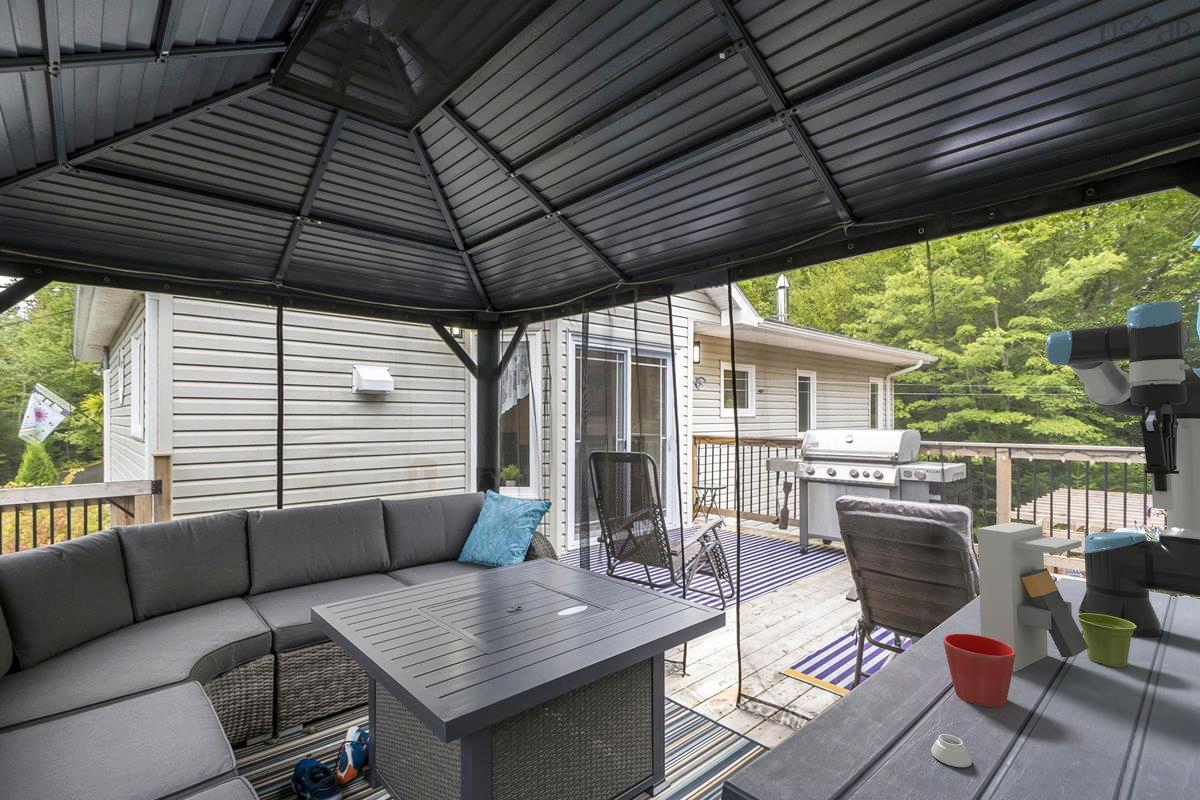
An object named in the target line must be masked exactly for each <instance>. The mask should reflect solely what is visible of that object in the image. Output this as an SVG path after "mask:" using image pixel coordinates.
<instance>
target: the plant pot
mask: <svg viewBox="0 0 1200 800" xmlns="http://www.w3.org/2000/svg"><path fill="white" fill-rule="evenodd" d="M1076 619H1077V620H1078V621H1079V624H1080V626H1081V629H1082V635H1083V638H1084V640H1085V642H1086V644H1087V645H1088V647H1089V648H1088V649H1086V652H1087V653H1086V654H1087V658H1088V660H1090V661H1092V662H1094V663H1097V664H1102V665H1105V666H1106V667H1111V668H1125V667H1126V666H1128V660H1129V655H1130V654H1129V653H1130V646H1131V639H1132V637H1133V636H1132V635H1133V631H1134V630H1135V629H1136V625H1135V624H1134V623H1132V622H1130V621H1127V620H1124V619H1121V618H1117V617H1113V616H1107V615H1101V614H1091V613H1083V614H1079V613H1077V615H1076Z"/></svg>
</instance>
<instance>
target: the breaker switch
mask: <svg viewBox="0 0 1200 800" xmlns="http://www.w3.org/2000/svg"><path fill="white" fill-rule="evenodd" d="M1020 576H1021V578H1022V580H1023V582H1024V584H1025V586H1026V588H1027V590H1028V592H1029V594H1030V596H1031V597H1032V599H1033V601H1034V603H1035V605H1036V607H1037V608H1040V609H1044V610H1049V611H1051V624H1052V629H1050V630H1047V632H1048V633H1049V634H1050V637H1051V639H1052V640H1053V643H1054V645H1055V646H1056V649H1057V650H1058V653H1059V654H1060V656H1061V658H1062V659H1063V658H1073V657H1075V656H1077V655H1079V654H1080V653H1083V652H1084V651H1087V649H1088V648H1089V647H1088V645H1087V644H1086V642H1085V639H1084V635H1083V633H1082V632H1081V630H1080V628H1079V627H1078V624H1077V623H1076V621H1075V619H1074V618H1073V617H1074V616H1073V614H1072V615H1071V613H1070V611H1069V609H1068V608H1067V606H1066V604H1065V602H1064V601H1065V600H1064V599H1063V596H1062V594H1061V593H1060V591H1059V588H1058V586H1057V585H1056V582H1055V580H1054V579H1053V577H1052V575H1051V572H1050V570H1048V567H1044V569H1039V570H1035V571H1032V572H1029V573H1025V574H1022V575H1020Z"/></svg>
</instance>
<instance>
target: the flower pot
mask: <svg viewBox="0 0 1200 800" xmlns="http://www.w3.org/2000/svg"><path fill="white" fill-rule="evenodd" d="M942 641H943V646H944V651H945V656H946V660H947V664H948V668H949V673H950V676H951V680H952V684H953V687H954V692H955V694H956V696H958V697H959V698H960V699H962V700H963V701H965V702H968V703H971V704H973V705H976V706H980V707H988V708H1002V707H1004V706H1006V703H1007V701H1008V696H1009V692H1010V686H1011V681H1012V675H1013V665H1014V660H1015V651H1014V649H1013V648H1012V647H1010V646H1009V645H1007V644H1005V643H1003V642H1001V641H998V640H995V639H992V638H989V637H984V636H981V635H979V634H973V633H950V634H947V635H945V636H943V640H942Z"/></svg>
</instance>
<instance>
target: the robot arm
mask: <svg viewBox="0 0 1200 800" xmlns="http://www.w3.org/2000/svg"><path fill="white" fill-rule="evenodd" d="M1182 312H1183V311H1182V306H1181V304H1180V303H1179V302H1176V301H1155V302H1148V303H1141V304H1137V305H1133V306H1131V307H1129V309H1127V312H1126V322H1125V324H1120V325H1109V326H1100V327H1089V328H1081V329H1080V328H1079V329H1067V330H1064V331H1057V332H1056V331H1055V332H1052V333H1050V334H1048V336H1047V337H1046V340H1045V353H1046V354H1045V355H1046V359H1047V361H1048V362H1049V364H1050V365H1053V366H1067V365H1068V366H1069V367H1070V368H1071V369H1072V370H1073V372H1074V374H1076V376H1077V377H1078V379H1080V381H1081V382H1082V383H1083V385H1084V392H1085V394H1086V396H1087V398H1088V399H1089V400H1090V401H1091V402H1092V403H1094V404H1095V405H1096V406H1098V407H1101V408H1102V409H1105V410H1107V411H1109V412H1113V413H1115V414H1120V415H1123V416H1129V417H1133V418H1134V417H1136V418H1141V419H1140V422H1139V425H1140V428H1141V432H1142V438H1143V439H1142V441H1143V446H1144V447H1143V448H1144V455H1145V461H1146V462H1145V464H1146V469H1144V473H1145V474H1150V479H1151V499H1152V509H1158V510H1159V509H1160V510H1166V520H1167V521H1166V525H1167V527H1166V529H1164V530H1163V531H1161V532H1160V533H1158V541H1154V540H1148V537H1147V536H1146V534H1144V533H1141V532H1132V531H1131V532H1130V531H1127V532H1126V531H1109V532H1105V531H1104V532H1095V533H1091V534H1088V535H1086V537H1085V539H1084V550H1083V554H1084V564H1085V565H1084V566H1085V587H1086V588H1085V590H1086V591H1085V593H1084V595H1083V598H1082V600H1081V603H1080V606H1079V608H1078V614H1083V613H1091V614H1101V615H1107V616H1113V617H1117V618H1121V619H1124V620H1127V621H1130V622H1132V623H1134V624H1135V625H1136V629H1135V630H1134V631H1133V635H1132V636H1131V637H1134V636H1135V637H1143V638H1144V637H1147V638H1149V637H1159V636H1161V635H1162V627H1161V626H1162V624H1161V622H1160V620H1159V617H1158V616H1157V614H1156V611H1155V609H1154V606H1153V605H1152V603H1151V600H1150V590H1153V591H1160V592H1165V593H1172V594H1176V595H1177V594H1178V595H1183V596H1189V597H1194V598H1195V597H1196V598H1200V368H1199V367H1198V368H1196V367H1192V368H1190V365H1189V364H1186V363H1185V356H1184V355H1185V351H1186V350H1187V349H1188V346H1189V344H1190V331H1188V329H1187V327H1185V326H1184V323H1183V319H1184V315H1183V313H1182ZM1120 361H1128V371H1127V372H1126V371H1124V370H1122V369H1121V367H1120V366H1119V364H1118V363H1117V362H1120Z"/></svg>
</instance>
